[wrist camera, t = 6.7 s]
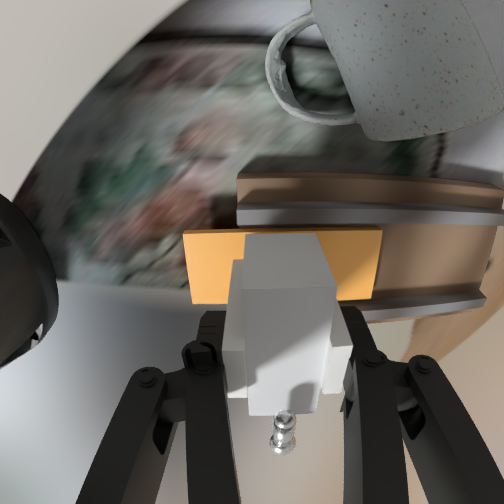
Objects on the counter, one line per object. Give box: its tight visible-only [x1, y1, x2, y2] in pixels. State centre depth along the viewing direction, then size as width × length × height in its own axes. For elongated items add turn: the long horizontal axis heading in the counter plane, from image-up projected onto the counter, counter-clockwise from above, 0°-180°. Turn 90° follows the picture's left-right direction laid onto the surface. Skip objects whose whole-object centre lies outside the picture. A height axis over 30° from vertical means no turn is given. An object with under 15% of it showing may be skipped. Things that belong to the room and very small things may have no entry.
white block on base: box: [183, 227, 383, 416], centre depth 15 cm, size 11×7×8 cm, turn 92°
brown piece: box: [236, 172, 504, 324], centre depth 18 cm, size 18×10×3 cm, turn 92°
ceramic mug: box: [265, 0, 504, 141], centre depth 11 cm, size 11×8×8 cm
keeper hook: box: [270, 410, 296, 455], centre depth 16 cm, size 2×3×10 cm
